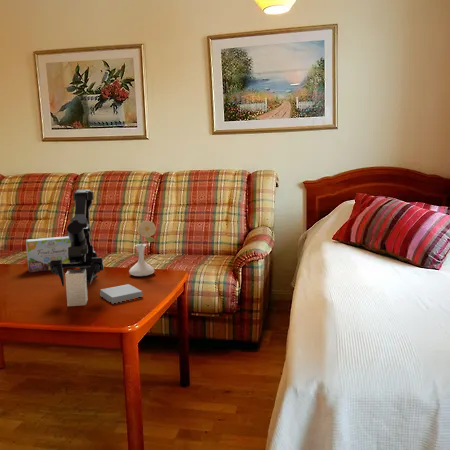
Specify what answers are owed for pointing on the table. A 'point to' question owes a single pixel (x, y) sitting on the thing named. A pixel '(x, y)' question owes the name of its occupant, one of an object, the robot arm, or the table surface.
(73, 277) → the cream block
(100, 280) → the table surface
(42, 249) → the snack box
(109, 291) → the grey block
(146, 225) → the flower in vase
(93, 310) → the table surface
